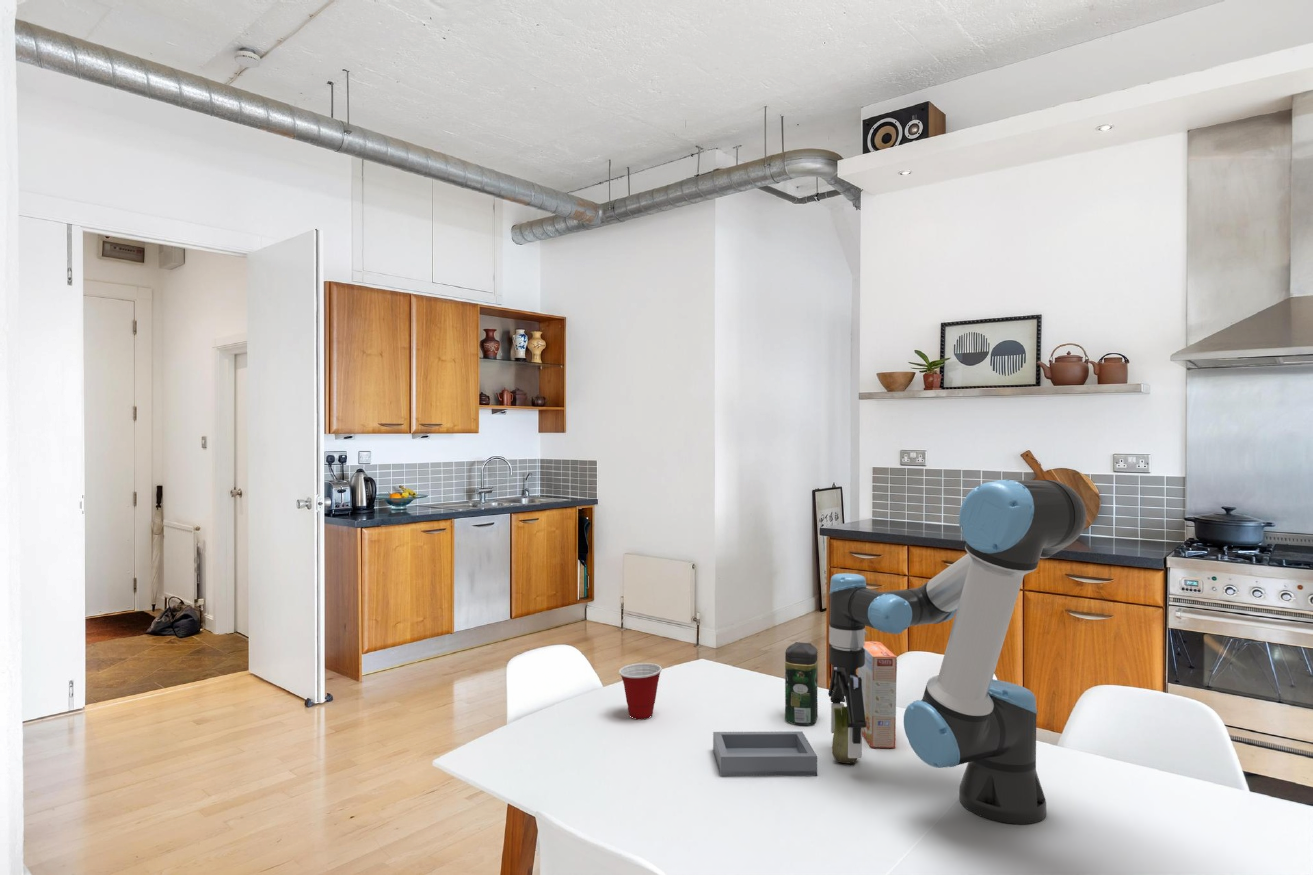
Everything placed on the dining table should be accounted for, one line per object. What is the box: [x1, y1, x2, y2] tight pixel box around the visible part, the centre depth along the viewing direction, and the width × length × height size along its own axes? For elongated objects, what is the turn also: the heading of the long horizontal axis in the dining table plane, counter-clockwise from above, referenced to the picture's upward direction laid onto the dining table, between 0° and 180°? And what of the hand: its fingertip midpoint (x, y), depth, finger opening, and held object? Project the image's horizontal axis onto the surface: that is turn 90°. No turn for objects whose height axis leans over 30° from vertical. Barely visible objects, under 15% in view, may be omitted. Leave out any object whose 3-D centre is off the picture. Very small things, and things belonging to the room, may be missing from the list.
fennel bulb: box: [831, 705, 859, 764], centre depth 170 cm, size 6×5×12 cm
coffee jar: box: [784, 641, 819, 726], centre depth 196 cm, size 10×8×19 cm
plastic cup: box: [618, 662, 663, 720], centre depth 197 cm, size 11×11×12 cm
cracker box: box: [857, 640, 898, 749], centre depth 184 cm, size 14×6×21 cm, turn 179°
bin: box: [712, 730, 818, 777], centre depth 169 cm, size 14×20×4 cm
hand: (845, 744), depth 170 cm, fingers open, 13 cm apart
